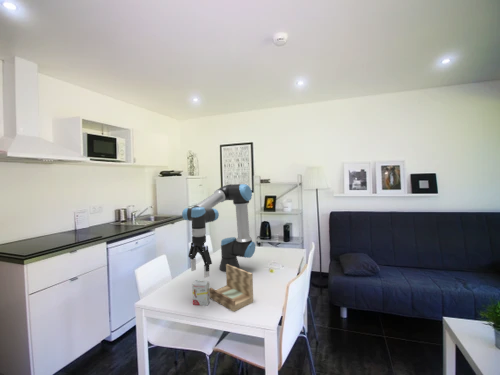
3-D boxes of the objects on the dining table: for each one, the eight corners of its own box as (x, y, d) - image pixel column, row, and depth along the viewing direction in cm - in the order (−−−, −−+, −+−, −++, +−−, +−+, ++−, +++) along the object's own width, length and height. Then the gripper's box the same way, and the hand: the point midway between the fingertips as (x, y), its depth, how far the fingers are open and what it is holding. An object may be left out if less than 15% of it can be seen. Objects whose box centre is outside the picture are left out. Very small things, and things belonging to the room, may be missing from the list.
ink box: (192, 304, 137) (191, 283, 136) (195, 300, 142) (195, 280, 141) (207, 305, 135) (206, 284, 135) (210, 301, 140) (209, 280, 139)
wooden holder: (209, 297, 144) (208, 270, 144) (228, 289, 154) (227, 264, 153) (233, 311, 128) (232, 281, 128) (253, 301, 138) (252, 273, 137)
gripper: (181, 233, 143) (182, 269, 144) (205, 240, 125) (206, 281, 126) (193, 231, 148) (194, 266, 149) (217, 237, 130) (218, 277, 131)
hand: (200, 273), depth 137 cm, fingers open, 13 cm apart
